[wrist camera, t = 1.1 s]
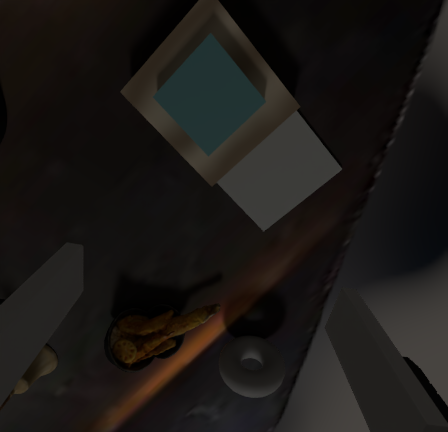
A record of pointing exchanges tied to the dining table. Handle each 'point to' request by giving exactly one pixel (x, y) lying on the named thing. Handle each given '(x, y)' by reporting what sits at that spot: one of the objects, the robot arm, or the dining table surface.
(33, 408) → the dining table surface
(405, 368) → the robot arm
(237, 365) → the donut
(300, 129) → the mat
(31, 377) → the hand bell
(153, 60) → the serving board
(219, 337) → the dining table surface
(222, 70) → the teal block
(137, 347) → the fried shrimp in bowl
